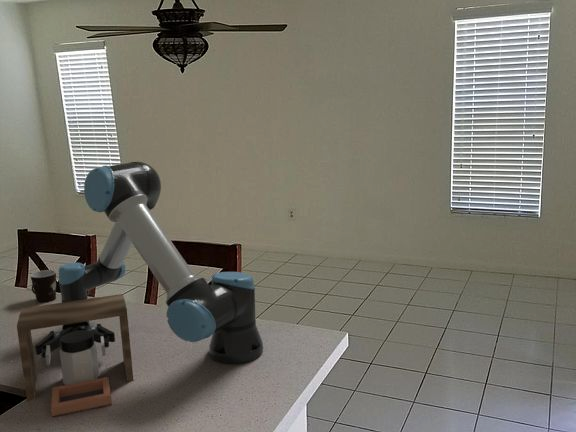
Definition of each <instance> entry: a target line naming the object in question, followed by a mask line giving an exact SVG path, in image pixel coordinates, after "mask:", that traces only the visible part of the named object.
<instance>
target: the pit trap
mask: <svg viewBox="0 0 576 432" xmlns="http://www.w3.org/2000/svg"><path fill="white" fill-rule="evenodd" d="M109 379H110V378H109V376H108V377H101V378H97V379H95V380H90V381H85V382H80V383H74V384H69V385H65V384H64V385H60V386H53V387H52V390H51V391H52V393H51V394H52V395H51V404H50V405H51V407H50V408H51V415H52V416H51V417H52V418H56V417H60V416H65V415H71V414H75V413H76V414H77V413H79V412H83V411H84V412H85V411H89V410H95V409H99V408H103V407H104V408H105V407H108V406H112V396H111V386H110V380H109Z"/></svg>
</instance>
